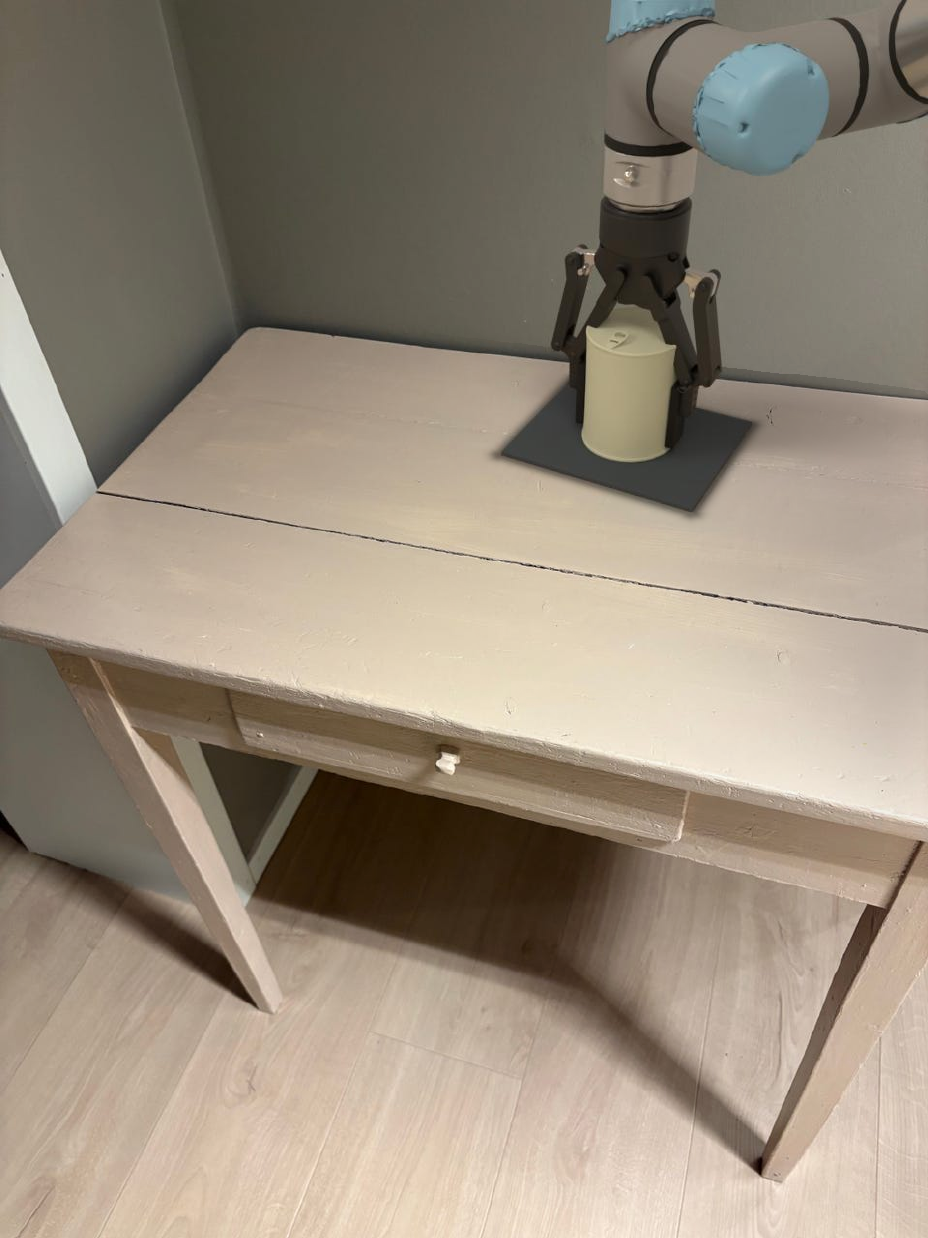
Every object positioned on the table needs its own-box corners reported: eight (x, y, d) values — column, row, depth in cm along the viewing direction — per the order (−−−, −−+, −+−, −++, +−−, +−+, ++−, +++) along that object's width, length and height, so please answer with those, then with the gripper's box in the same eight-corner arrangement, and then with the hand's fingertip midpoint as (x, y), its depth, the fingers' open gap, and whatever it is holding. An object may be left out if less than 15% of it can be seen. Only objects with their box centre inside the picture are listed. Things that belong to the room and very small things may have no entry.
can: (562, 440, 96) (565, 329, 87) (617, 401, 100) (625, 292, 92) (639, 474, 91) (649, 360, 83) (693, 431, 96) (708, 319, 87)
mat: (752, 424, 97) (752, 421, 96) (692, 512, 87) (692, 508, 87) (573, 379, 105) (573, 376, 104) (501, 454, 95) (500, 451, 95)
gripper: (510, 191, 81) (514, 420, 97) (759, 234, 73) (719, 478, 88) (551, 162, 86) (549, 385, 102) (790, 199, 77) (747, 437, 93)
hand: (628, 428), depth 95 cm, fingers closed on can, 9 cm apart
